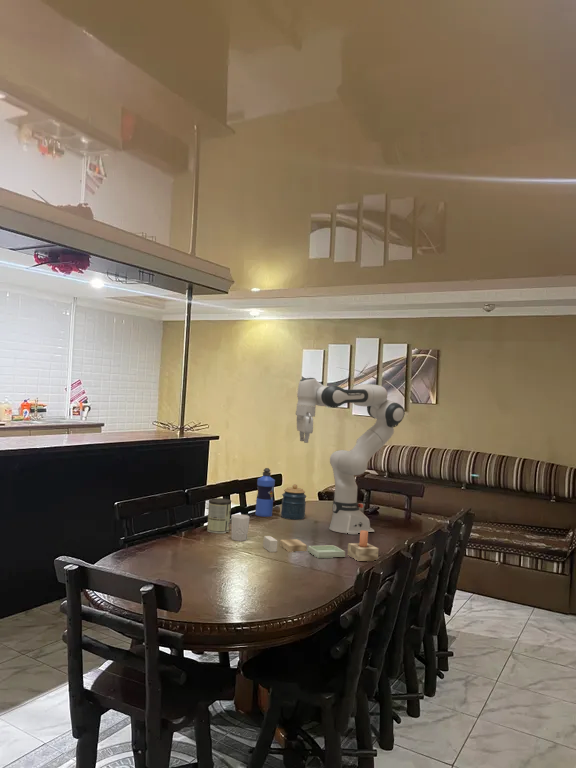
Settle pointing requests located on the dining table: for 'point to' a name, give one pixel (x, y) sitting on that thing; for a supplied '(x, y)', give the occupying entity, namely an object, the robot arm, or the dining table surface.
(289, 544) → the notched wooden block
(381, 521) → the dining table surface
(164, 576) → the dining table surface
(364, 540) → the dowel
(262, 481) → the water bottle
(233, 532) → the white cup
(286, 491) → the canister
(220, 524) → the coffee can
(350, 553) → the socket block
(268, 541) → the white rectangular block
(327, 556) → the tray
